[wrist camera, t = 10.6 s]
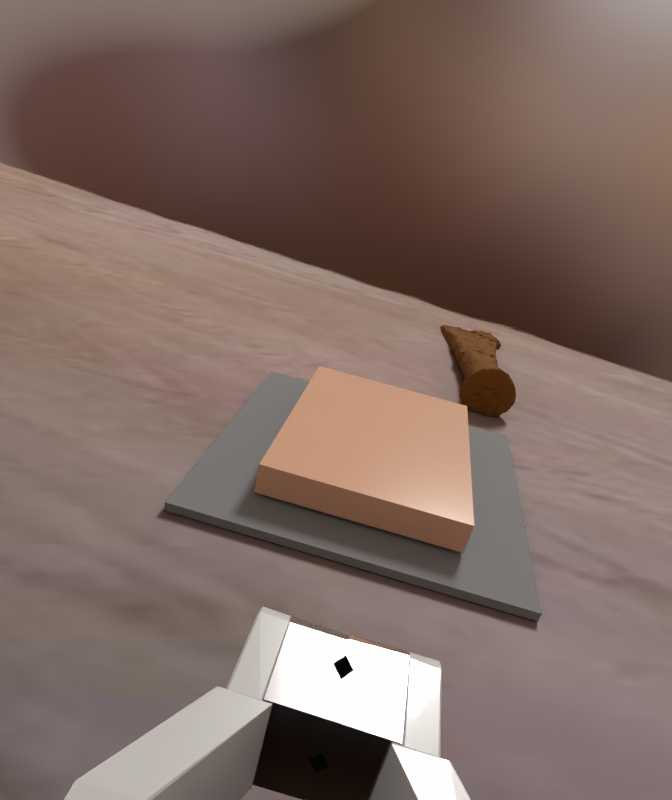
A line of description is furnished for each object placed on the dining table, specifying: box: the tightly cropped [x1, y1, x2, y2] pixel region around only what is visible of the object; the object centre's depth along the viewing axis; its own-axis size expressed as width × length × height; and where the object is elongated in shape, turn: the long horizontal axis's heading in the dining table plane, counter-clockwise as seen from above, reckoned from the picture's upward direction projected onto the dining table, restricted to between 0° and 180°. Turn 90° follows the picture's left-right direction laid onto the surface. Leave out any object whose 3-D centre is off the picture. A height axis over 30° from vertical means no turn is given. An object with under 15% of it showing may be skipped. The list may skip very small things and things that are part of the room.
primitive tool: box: [441, 325, 516, 417], centre depth 47 cm, size 19×6×4 cm, turn 174°
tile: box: [254, 366, 474, 553], centre depth 29 cm, size 9×2×12 cm
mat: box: [164, 372, 541, 621], centre depth 29 cm, size 15×15×1 cm
